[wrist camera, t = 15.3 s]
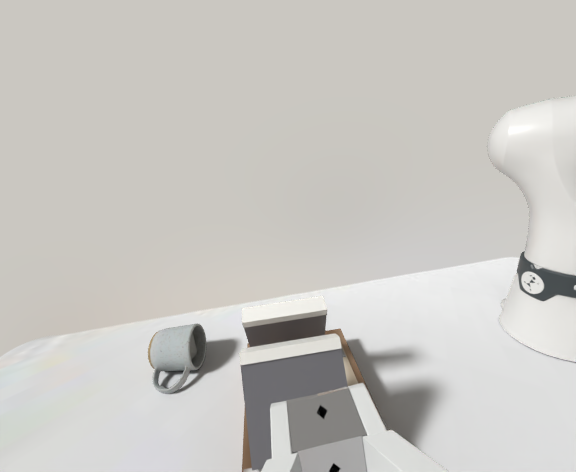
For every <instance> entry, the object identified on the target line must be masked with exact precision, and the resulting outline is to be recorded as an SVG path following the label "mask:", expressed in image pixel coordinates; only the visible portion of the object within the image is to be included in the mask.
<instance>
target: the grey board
mask: <svg viewBox="0 0 576 472" xmlns="http://www.w3.org/2000/svg"><path fill="white" fill-rule="evenodd" d="M239 357H240V365H241V372H242V382H243V391H244V400H245V410H246V419H247V428H248V438H249V447H250V456H251V465H252V470H257V469H262V468H263V466H264V464H265V462H266V460H268V459H272V448H271V419H270V407H271V404H272V403H277V402H282V401H287V400H290V399H295V398H300V397H305V396H310V395H315V394H318V393H322V392H326V391H330V390H335V389H339V388H343V387H348V385H347V379H346V373H345V367H344V361H343V356H342V350H341V342H340V337H339V336H338V335H337V334H335V333H334V334H328V335H322V336H316V337H310V338H304V339H297V340H291V341H285V342H279V343H273V344H267V345H261V346H255V347H249V348H243V349H241V351H240V353H239Z"/></svg>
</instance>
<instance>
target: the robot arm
mask: <svg viewBox="0 0 576 472" xmlns="http://www.w3.org/2000/svg"><path fill="white" fill-rule="evenodd" d="M487 151H488V156H489V159H490V160H491V162H492V164H493V165H494V166H495V167H496V168H497V169H498V170H499V171H500V172H502V173H503V174H505V175H506V176H508V177H509V178H510V179H512V180H513V181H514V182H515V183H516V184H517V185H518V187H519V188H520V190H521V191H522V192H523V194H524V196H525V198H526V201H527V204H528V208H529V228H528V236H527V242H526V247H525V251H524V252H522V254H521V256H520V259H519V261H518V268H517V273H516V274H515V276H514V278H513V281H512V284H511V287H510V289H509V292H508V295H507V298H506V299H503V300H502V302H501V307H502V312H501V314H500V316H499V322H500V324H501V326H502V328H503V329H504V330H505V331H506V332H507V333H508V334H509V335H510V336H512V337H513V338H514V339H516V340H517V341H519V342H520V343H522V344H524V345H526V346H528V347H530V348H532V349H534V350H536V351H539V352H541V353H544V354H546V355H549V356H552V357H556V358H559V359H563V360H568V361H573V362H576V96H569V97H561V98H554V99H548V100H544V101H540V102H537V103H533V104H529V105H526V106H522V107H519V108H515V109H512V110H509V111H508V112H507V113H506V114H504V115H503V116H502V118H500V119H499V121H498V122H497V123H496V124H495V126H494V127H493V129H492V131H491V133H490V136H489V139H488V145H487ZM270 419H271V448H272V459H268V460H266V462H265V464H264V466H263V468H262V470H261V472H449V471H448V470H446V469H445V468H444V467H442V466H441V465H440V464H438V463H437V462H435V461H434V460H433V459H431V458H430V457H429V456H427V455H426V454H425V453H423V452H422V451H420V450H419V449H418V448H416V447H415V446H414V445H412V444H411V443H410V442H408V441H407V440H405V439H404V438H403V437H401V436H400V435H399V434H397V433H396V432H395V431H393V430H388V431H387V429H386V427H385V425H384V423H383V421H382V419H381V417H380V415H379V413H378V411H377V409H376V407H375V405H374V403H373V401H372V398H371V396H370V394H369V392H368V390H367V388H366V386H365V385H364V384H363V383H360V384H355V385H351V386H348V387H343V388H339V389H335V390H330V391H326V392H322V393H318V394H315V395H310V396H305V397H300V398H295V399H290V400H287V401H282V402H277V403H272V404H271V407H270Z"/></svg>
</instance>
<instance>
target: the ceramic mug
mask: <svg viewBox="0 0 576 472" xmlns="http://www.w3.org/2000/svg"><path fill="white" fill-rule="evenodd" d="M205 354H206V337H205V332H204V329H203V327H202V326H201V325H200V324H192V325H186V326H179V327H173V328H167V329H163V330H161V331H158V332H157V333H156V334H155V335H154V336H153V337H152V339H151V341H150V344H149V348H148V359H149V362H150V364H151V366H152V367H153V368H154V369H155V370H154V373H153V378H152V380H153V385H154V387H155V388H156V389H157V390H158V391H160V392H161V393H166V394H168V393H173V392H175V391H177V390H178V389H179V388H181V387H182V385H183V384H184V383H185V381H186V379H187V377H188V375H189V373H190V370H197V369H199V368H200V367H201V365H202V364H203V361H204V358H205ZM175 370H184V372H183V374H182V376H181V378H180V379H179V380H178V382H177V383H176V384H174V385H173V386H172V387H170V388H164V387H163V386H159V384H158V378H159V374H160V371H175Z"/></svg>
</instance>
